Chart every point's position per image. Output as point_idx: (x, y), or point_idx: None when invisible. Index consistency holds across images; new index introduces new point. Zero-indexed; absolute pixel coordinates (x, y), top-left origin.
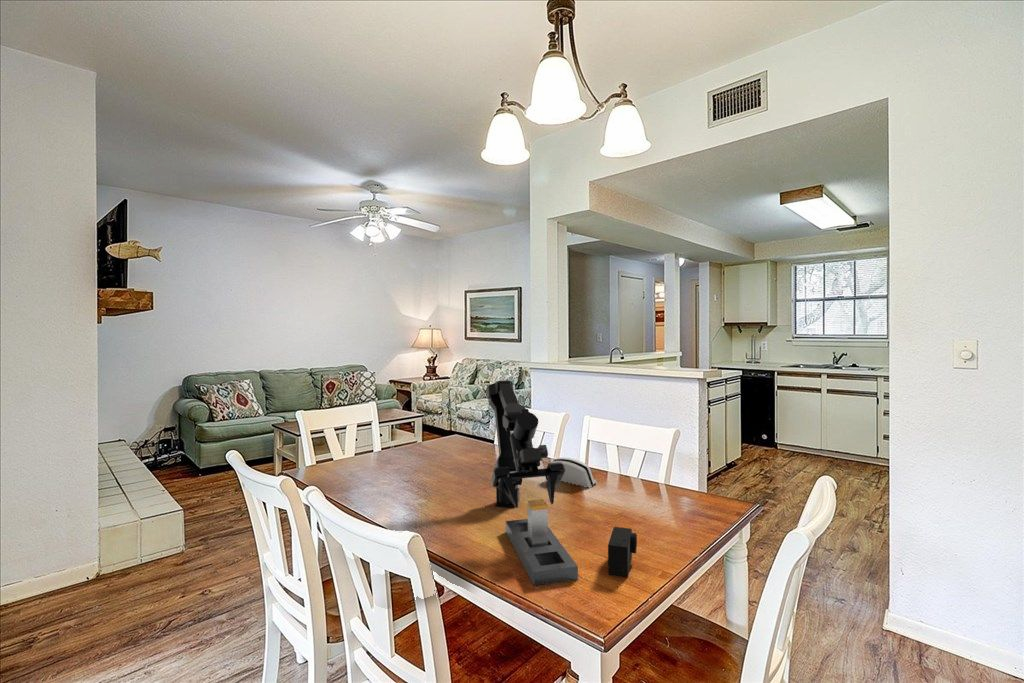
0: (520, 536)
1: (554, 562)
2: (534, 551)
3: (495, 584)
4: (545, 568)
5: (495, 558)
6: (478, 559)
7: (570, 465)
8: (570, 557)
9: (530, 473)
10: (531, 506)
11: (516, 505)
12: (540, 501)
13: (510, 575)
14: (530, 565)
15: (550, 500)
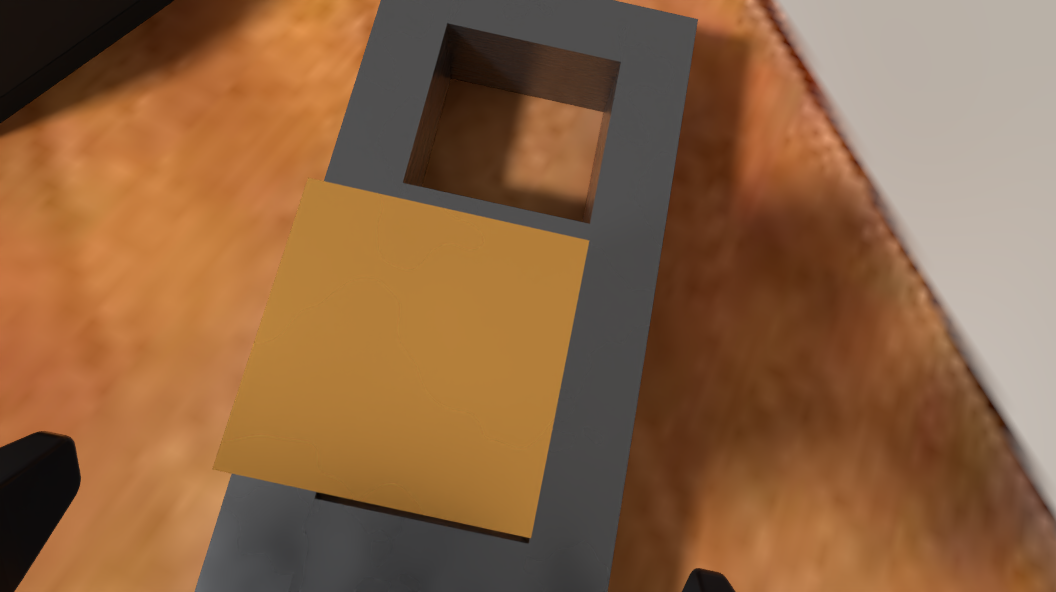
0: (546, 586)
1: None
2: None
3: (873, 187)
4: (607, 22)
5: (781, 500)
6: (905, 545)
7: None
8: (367, 62)
9: None
10: (585, 256)
11: (725, 577)
12: (323, 384)
13: (757, 236)
14: (683, 97)
15: (29, 532)
